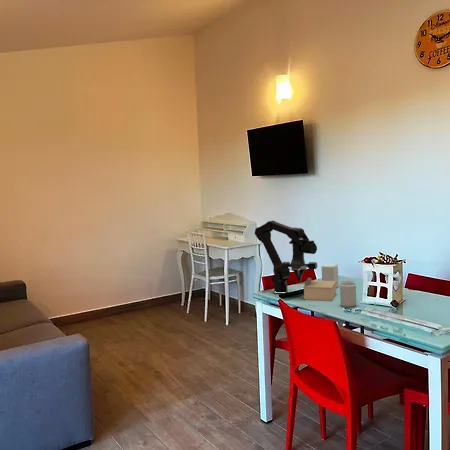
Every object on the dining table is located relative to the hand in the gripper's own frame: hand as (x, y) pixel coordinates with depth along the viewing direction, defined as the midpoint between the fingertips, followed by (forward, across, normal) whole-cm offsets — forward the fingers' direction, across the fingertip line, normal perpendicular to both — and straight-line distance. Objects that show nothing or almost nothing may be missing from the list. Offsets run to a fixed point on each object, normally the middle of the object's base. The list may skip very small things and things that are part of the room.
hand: (299, 281), depth 253 cm
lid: (+2, +11, 0) cm, 11 cm away
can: (+8, +27, -14) cm, 31 cm away
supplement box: (+8, +13, +21) cm, 26 cm away
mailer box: (+8, +11, 0) cm, 13 cm away
